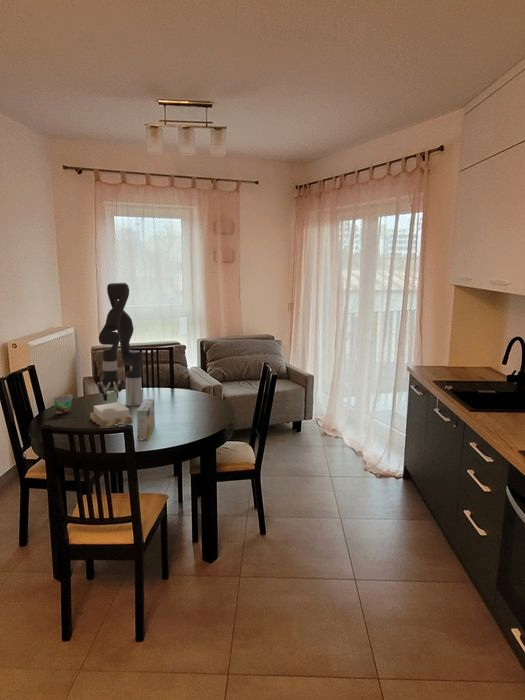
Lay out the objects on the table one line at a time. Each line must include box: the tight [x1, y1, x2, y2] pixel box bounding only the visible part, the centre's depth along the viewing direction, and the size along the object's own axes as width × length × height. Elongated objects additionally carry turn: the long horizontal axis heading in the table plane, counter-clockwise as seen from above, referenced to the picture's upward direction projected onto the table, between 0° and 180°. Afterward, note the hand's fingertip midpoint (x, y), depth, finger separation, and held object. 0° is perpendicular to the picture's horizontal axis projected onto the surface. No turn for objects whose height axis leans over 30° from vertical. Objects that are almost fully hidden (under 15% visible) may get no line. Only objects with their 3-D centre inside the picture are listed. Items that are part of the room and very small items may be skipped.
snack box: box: [136, 398, 156, 440], centre depth 224 cm, size 21×6×15 cm, turn 5°
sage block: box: [104, 390, 118, 404], centre depth 240 cm, size 5×5×5 cm
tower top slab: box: [93, 402, 130, 421], centre depth 242 cm, size 14×16×4 cm
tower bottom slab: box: [89, 412, 133, 428], centre depth 242 cm, size 16×18×4 cm
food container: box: [53, 392, 73, 415], centre depth 253 cm, size 12×6×10 cm, turn 168°
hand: (110, 399), depth 241 cm, fingers closed on sage block, 5 cm apart
